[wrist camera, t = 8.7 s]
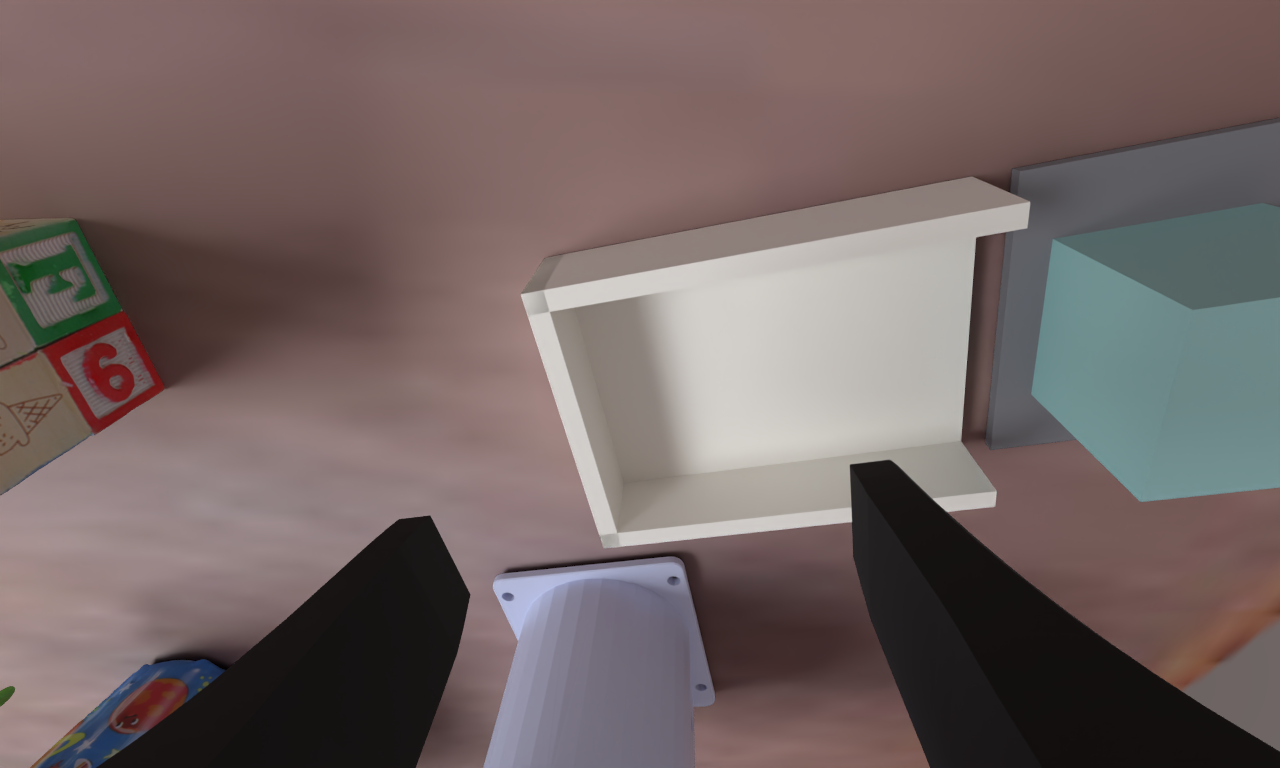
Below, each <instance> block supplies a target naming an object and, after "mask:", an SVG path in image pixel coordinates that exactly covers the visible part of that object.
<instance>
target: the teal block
mask: <svg viewBox="0 0 1280 768" xmlns="http://www.w3.org/2000/svg"><path fill="white" fill-rule="evenodd" d="M1031 395H1032V396H1033V397H1034V398H1035V399H1036V400H1037V401H1038V402H1039V403H1040V404H1041V405H1042V406H1043V407H1044V408H1045V409H1047V410H1048V411H1049V412H1050V413H1051V414H1052V415H1053V416H1054V417H1055V418H1056V419H1057V420H1058V421H1059V422H1060V423H1061V424H1062V425H1063V426H1064V427H1065V428H1066V429H1067V430H1068V431H1069V432H1070V433H1071V434H1072V435H1073V436H1074V437H1075V438H1076V439H1077V440H1078V441H1079V442H1080V443H1081V444H1082V445H1083V446H1084V447H1085V448H1086V449H1087V450H1088V451H1089V452H1090V453H1091V454H1092V455H1093V456H1094V457H1095V458H1096V459H1097V460H1098V461H1099V462H1100V463H1101V464H1102V465H1103V466H1104V467H1105V468H1106V469H1107V470H1109V471H1110V472H1111V473H1112V474H1113V475H1114V476H1115V477H1116V478H1117V479H1118V480H1119V481H1120V482H1121V483H1122V484H1123V485H1124V486H1125V487H1126V488H1127V489H1128V490H1129V491H1130V492H1131V493H1132V494H1133V495H1134V496H1135V497H1136V498H1137V499H1138V500H1139V501H1140V502H1145V501H1155V500H1164V499H1174V498H1183V497H1193V496H1203V495H1212V494H1222V493H1231V492H1241V491H1251V490H1260V489H1270V488H1279V487H1280V207H1276V206H1273V205H1269V204H1265V203H1260V204H1254V205H1248V206H1242V207H1237V208H1231V209H1225V210H1219V211H1213V212H1207V213H1202V214H1196V215H1190V216H1184V217H1178V218H1172V219H1166V220H1161V221H1155V222H1149V223H1143V224H1137V225H1131V226H1126V227H1120V228H1114V229H1108V230H1102V231H1096V232H1091V233H1085V234H1079V235H1073V236H1067V237H1061V238H1056V239H1053V241H1052V248H1051V255H1050V262H1049V270H1048V277H1047V284H1046V291H1045V298H1044V306H1043V313H1042V320H1041V327H1040V334H1039V342H1038V349H1037V356H1036V363H1035V371H1034V378H1033V385H1032V392H1031Z"/></svg>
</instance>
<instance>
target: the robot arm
mask: <svg viewBox="0 0 1280 768" xmlns="http://www.w3.org/2000/svg"><path fill="white" fill-rule="evenodd" d="M850 485H851V509H852V533H853V557H854V561H855V565H856V568H857V572H858V576H859V579H860V583H861V587H862V590H863V594H864V597H865V601H866V604H867V608H868V611H869V615H870V618H871V621H872V623H873V626H874V628H875V631H876V634H877V636H878V639H879V641H880V644H881V646H882V649H883V651H884V654H885V656H886V659H887V661H888V664H889V666H890V669H891V671H892V674H893V676H894V679H895V681H896V684H897V686H898V689H899V691H900V694H901V696H902V699H903V701H904V704H905V706H906V709H907V711H908V713H909V716H910V718H911V721H912V723H913V726H914V728H915V731H916V733H917V736H918V738H919V741H920V743H921V746H922V748H923V751H924V753H925V756H926V758H927V761H928V763H929V766H930V768H1280V751H1278V750H1276V749H1274V748H1273V747H1271V746H1270V745H1268V744H1266V743H1264V742H1263V741H1261V740H1260V739H1258V738H1256V737H1255V736H1253V735H1251V734H1250V733H1248V732H1246V731H1245V730H1243V729H1241V728H1240V727H1238V726H1236V725H1235V724H1233V723H1231V722H1230V721H1228V720H1226V719H1225V718H1223V717H1221V716H1220V715H1218V714H1216V713H1215V712H1213V711H1211V710H1210V709H1208V708H1206V707H1205V706H1203V705H1202V704H1200V703H1199V702H1197V701H1196V700H1194V699H1193V698H1191V697H1190V696H1188V695H1186V694H1185V693H1183V692H1182V691H1180V690H1179V689H1177V688H1176V687H1174V686H1173V685H1171V684H1170V683H1168V682H1167V681H1165V680H1163V679H1162V678H1160V677H1159V676H1157V675H1156V674H1154V673H1153V672H1151V671H1150V670H1148V669H1147V668H1146V667H1144V666H1143V665H1141V664H1140V663H1138V662H1137V661H1135V660H1134V659H1132V658H1131V657H1130V656H1128V655H1127V654H1125V653H1124V652H1122V651H1121V650H1119V649H1118V648H1116V647H1115V646H1114V645H1112V644H1111V643H1109V642H1108V641H1106V640H1105V639H1104V638H1102V637H1101V636H1099V635H1098V634H1097V633H1095V632H1094V631H1093V630H1091V629H1090V628H1088V627H1087V626H1086V625H1084V624H1083V623H1082V622H1080V621H1079V620H1078V619H1076V618H1075V617H1073V616H1072V615H1071V614H1069V613H1068V612H1067V611H1065V610H1064V609H1063V608H1061V607H1060V606H1059V605H1058V604H1056V603H1055V602H1054V601H1052V600H1051V599H1050V598H1049V597H1047V596H1046V595H1045V594H1043V593H1042V592H1041V591H1040V590H1038V589H1037V588H1036V587H1034V586H1033V585H1032V584H1031V583H1029V582H1028V581H1027V580H1026V579H1024V578H1023V577H1022V576H1021V575H1019V574H1018V573H1017V572H1016V571H1014V570H1013V569H1012V568H1011V567H1010V566H1008V565H1007V564H1006V563H1005V562H1003V561H1002V560H1001V559H1000V558H999V557H998V556H996V555H995V554H994V553H993V552H992V551H991V550H989V549H988V548H987V547H986V546H985V545H984V544H982V543H981V542H980V541H979V540H978V539H976V538H975V537H974V536H973V535H972V534H971V533H969V532H968V531H967V530H966V529H965V528H964V527H963V526H962V525H960V524H959V523H958V522H957V521H956V520H955V519H954V518H953V517H952V516H950V515H949V514H948V513H947V512H946V511H945V510H944V509H943V508H942V507H941V506H940V505H939V504H937V503H936V502H935V501H934V500H933V499H932V498H931V497H930V496H929V495H928V494H927V493H926V492H925V491H924V490H923V489H922V488H920V487H919V486H918V485H917V484H916V483H915V482H914V481H913V480H912V479H911V478H910V477H909V476H908V475H907V474H906V473H905V472H904V471H903V470H902V469H901V468H900V467H899V466H898V465H897V464H895V463H894V462H893V461H891V460H882V461H874V462H866V463H858V464H850ZM672 576H674V577H676V578H672ZM493 589H494V591H495V593H496V596H497V598H498V600H499V602H500V604H501V606H502V608H503V610H504V612H505V615H506V617H507V619H508V621H509V623H510V625H511V627H512V629H513V631H514V633H515V636H516V638H517V640H518V645H517V648H516V652H515V655H514V659H513V663H512V666H511V670H510V673H509V677H508V681H507V684H506V688H505V691H504V695H503V699H502V702H501V706H500V709H499V713H498V717H497V720H496V724H495V728H494V731H493V735H492V738H491V742H490V746H489V749H488V753H487V756H486V760H485V764H484V767H483V768H695V738H694V707H702V706H710V705H712V704H713V703H714V702H715V692H714V687H713V683H712V679H711V675H710V671H709V666H708V662H707V658H706V654H705V650H704V645H703V641H702V637H701V633H700V629H699V625H698V620H697V616H696V612H695V608H694V604H693V599H692V595H691V591H690V587H689V583H688V578H687V574H686V570H685V566H684V563H683V561H682V560H681V559H679V558H677V557H671V556H669V557H660V558H650V559H640V560H630V561H621V562H611V563H601V564H591V565H582V566H572V567H562V568H552V569H543V570H533V571H523V572H513V573H504V574H499V575H498V576H496V578H495V580H494V583H493ZM469 598H470V593H469V591H468V589H467V587H466V585H465V583H464V581H463V579H462V577H461V575H460V573H459V571H458V569H457V567H456V565H455V563H454V561H453V559H452V557H451V555H450V554H449V552H448V550H447V548H446V546H445V544H444V542H443V540H442V538H441V536H440V534H439V532H438V530H437V528H436V526H435V524H434V522H433V520H432V518H431V516H423V517H414V518H406V519H399V520H398V521H396V522H395V523H394V524H393V525H391V526H390V527H389V528H388V529H386V530H385V531H384V532H383V533H382V534H380V535H379V536H378V537H377V538H376V539H375V540H374V541H372V542H371V543H370V544H369V545H368V546H367V547H366V548H364V549H363V550H362V551H361V552H360V553H359V554H358V555H357V556H356V557H354V558H353V559H352V560H351V561H350V562H349V563H348V564H347V565H346V566H345V567H343V568H342V569H341V570H340V571H339V572H338V573H337V574H336V575H335V576H334V577H332V578H331V579H330V580H329V581H328V582H327V583H326V584H325V585H324V586H322V587H321V588H320V589H319V590H318V591H317V592H316V593H315V594H314V595H312V596H311V597H310V598H309V599H308V600H307V601H306V602H305V603H304V604H302V605H301V606H300V607H299V608H298V609H297V610H296V611H295V612H294V613H293V614H291V615H290V616H289V617H288V618H287V619H286V620H285V621H283V622H282V623H281V624H280V625H279V626H277V627H276V628H275V629H274V630H273V631H272V632H270V633H269V634H268V635H267V636H266V637H265V638H263V639H262V640H261V641H260V642H259V643H258V644H256V645H255V646H254V647H253V648H252V649H251V650H249V651H248V652H247V653H246V654H245V655H243V656H242V657H241V658H240V659H239V660H238V661H236V662H235V663H234V664H233V665H232V666H231V667H229V668H228V669H227V670H226V671H225V672H223V673H222V674H221V675H220V676H218V677H217V678H216V679H215V680H214V681H212V682H211V683H210V684H209V685H207V686H206V687H205V688H204V689H202V690H201V691H200V692H198V693H197V694H196V695H195V696H193V697H192V698H191V699H190V700H188V701H187V702H186V703H184V704H183V705H182V706H180V707H179V708H178V709H176V710H175V711H174V712H172V713H171V714H170V715H168V716H167V717H166V718H164V719H163V720H162V721H160V722H159V723H158V724H157V725H155V726H154V727H153V728H151V729H150V730H149V731H147V732H146V733H144V734H143V735H142V736H140V737H139V738H138V739H136V740H135V741H133V742H132V743H131V744H129V745H128V746H126V747H125V748H124V749H122V750H121V751H119V752H118V753H116V754H115V755H113V756H112V757H111V758H109V759H108V760H106V761H105V762H103V763H102V764H100V765H99V766H97V767H96V768H416V765H417V762H418V759H419V757H420V754H421V751H422V749H423V746H424V743H425V740H426V738H427V735H428V732H429V730H430V727H431V724H432V721H433V719H434V716H435V713H436V711H437V708H438V705H439V702H440V700H441V697H442V694H443V691H444V689H445V686H446V683H447V680H448V677H449V675H450V672H451V669H452V666H453V663H454V660H455V657H456V655H457V652H458V648H459V644H460V639H461V635H462V631H463V627H464V623H465V618H466V613H467V608H468V603H469Z"/></svg>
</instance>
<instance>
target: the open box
mask: <svg viewBox="0 0 1280 768" xmlns="http://www.w3.org/2000/svg"><path fill="white" fill-rule="evenodd" d="M1029 210H1030V201H1028V200H1025V199H1023V198H1021V197H1018V196H1016V195H1014V194H1011V193H1009V192H1007V191H1004V190H1002V189H1000V188H998V187H995V186H993V185H991V184H988V183H986V182H984V181H981V180H979V179H977V178H974V177H966V178H961V179H956V180H951V181H945V182H940V183H935V184H930V185H924V186H919V187H914V188H909V189H903V190H898V191H893V192H888V193H882V194H877V195H872V196H867V197H861V198H856V199H851V200H846V201H840V202H835V203H830V204H825V205H819V206H814V207H809V208H804V209H798V210H793V211H788V212H783V213H777V214H772V215H767V216H762V217H756V218H751V219H746V220H741V221H735V222H730V223H725V224H720V225H715V226H709V227H704V228H699V229H694V230H688V231H683V232H678V233H673V234H667V235H662V236H657V237H652V238H646V239H641V240H636V241H631V242H625V243H620V244H615V245H610V246H604V247H599V248H594V249H589V250H583V251H578V252H573V253H568V254H562V255H557V256H552V257H547V258H544V260H543V261H542V263H541V264H540V266H539V267H538V269H537V270H536V272H535V273H534V275H533V276H532V278H531V279H530V281H529V282H528V284H527V286H526V287H525V289H524V290H523V292H522V293H521V297H522V300H523V303H524V306H525V309H526V312H527V315H528V318H529V321H530V324H531V327H532V330H533V334H534V337H535V340H536V343H537V346H538V349H539V352H540V355H541V358H542V361H543V364H544V367H545V370H546V373H547V376H548V379H549V383H550V386H551V389H552V392H553V395H554V398H555V401H556V404H557V407H558V410H559V413H560V416H561V419H562V422H563V425H564V428H565V432H566V435H567V438H568V441H569V444H570V447H571V450H572V453H573V456H574V459H575V462H576V465H577V468H578V471H579V474H580V477H581V480H582V484H583V487H584V490H585V493H586V496H587V499H588V502H589V505H590V508H591V511H592V514H593V517H594V520H595V523H596V526H597V529H598V533H599V536H600V539H601V542H602V545H603V548H613V547H622V546H632V545H641V544H650V543H660V542H669V541H678V540H688V539H697V538H706V537H716V536H725V535H735V534H744V533H753V532H763V531H772V530H781V529H791V528H800V527H810V526H819V525H828V524H838V523H847V522H852V509H851V485H850V464H858V463H866V462H874V461H882V460H891V461H893V462H894V463H895V464H897V465H898V466H899V467H900V468H901V469H902V470H903V471H904V472H905V473H906V474H907V475H908V476H909V477H910V478H911V479H912V480H913V481H914V482H915V483H916V484H917V485H918V486H919V487H920V488H922V489H923V490H924V491H925V492H926V493H927V494H928V495H929V496H930V497H931V498H932V499H933V500H934V501H935V502H936V503H937V504H939V505H940V506H941V507H942V508H943V509H944V510H945V511H946V512H950V511H959V510H969V509H978V508H988V507H995V503H996V494H997V491H996V489H995V488H994V487H993V485H992V484H991V482H990V481H989V480H988V478H987V477H986V475H985V474H984V473H983V471H982V470H981V468H980V467H979V466H978V464H977V463H976V461H975V460H974V459H973V457H972V456H971V454H970V453H969V452H968V450H967V449H966V447H965V446H964V445H963V443H962V442H961V435H962V422H963V408H964V395H965V381H966V367H967V354H968V340H969V327H970V313H971V300H972V286H973V273H974V259H975V245H976V237H980V236H986V235H992V234H997V233H1003V232H1009V231H1015V230H1020V229H1026V228H1027V227H1028V218H1029Z"/></svg>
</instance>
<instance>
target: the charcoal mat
mask: <svg viewBox="0 0 1280 768" xmlns="http://www.w3.org/2000/svg"><path fill="white" fill-rule="evenodd" d="M1010 193H1011V194H1014V195H1016V196H1018V197H1021V198H1023V199H1025V200H1028V201H1030V210H1029V218H1028V227H1027V228H1026V229H1020V230H1015V231H1009V232H1006V237H1005V248H1004V258H1003V268H1002V278H1001V288H1000V298H999V309H998V319H997V329H996V339H995V349H994V359H993V369H992V380H991V390H990V400H989V410H988V420H987V430H986V440H985V443H986V445H987V446H988V447H989V448H990V450H995V449H1003V448H1012V447H1020V446H1028V445H1036V444H1045V443H1053V442H1061V441H1069V440H1077V439H1076V438H1075V437H1074V436H1073V435H1072V434H1071V433H1070V432H1069V431H1068V430H1067V429H1066V428H1065V427H1064V426H1063V425H1062V424H1061V423H1060V422H1059V421H1058V420H1057V419H1056V418H1055V417H1054V416H1053V415H1052V414H1051V413H1050V412H1049V411H1048V410H1047V409H1045V408H1044V407H1043V406H1042V405H1041V404H1040V403H1039V402H1038V401H1037V400H1036V399H1035V398H1034V397H1033V396H1032V395H1031V392H1032V385H1033V378H1034V371H1035V363H1036V356H1037V349H1038V342H1039V334H1040V327H1041V320H1042V313H1043V306H1044V298H1045V291H1046V284H1047V277H1048V270H1049V262H1050V255H1051V248H1052V241H1053V239H1056V238H1061V237H1067V236H1073V235H1079V234H1085V233H1091V232H1096V231H1102V230H1108V229H1114V228H1120V227H1126V226H1131V225H1137V224H1143V223H1149V222H1155V221H1161V220H1166V219H1172V218H1178V217H1184V216H1190V215H1196V214H1202V213H1207V212H1213V211H1219V210H1225V209H1231V208H1237V207H1242V206H1248V205H1254V204H1260V203H1265V204H1269V205H1273V206H1276V207H1280V118H1276V119H1271V120H1265V121H1260V122H1255V123H1250V124H1244V125H1239V126H1234V127H1229V128H1223V129H1218V130H1213V131H1208V132H1202V133H1197V134H1192V135H1187V136H1181V137H1176V138H1171V139H1166V140H1160V141H1155V142H1150V143H1145V144H1139V145H1134V146H1129V147H1124V148H1118V149H1113V150H1108V151H1103V152H1097V153H1092V154H1087V155H1082V156H1076V157H1071V158H1066V159H1061V160H1055V161H1050V162H1045V163H1040V164H1034V165H1029V166H1024V167H1019V168H1013V169H1012V177H1011V187H1010Z"/></svg>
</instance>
